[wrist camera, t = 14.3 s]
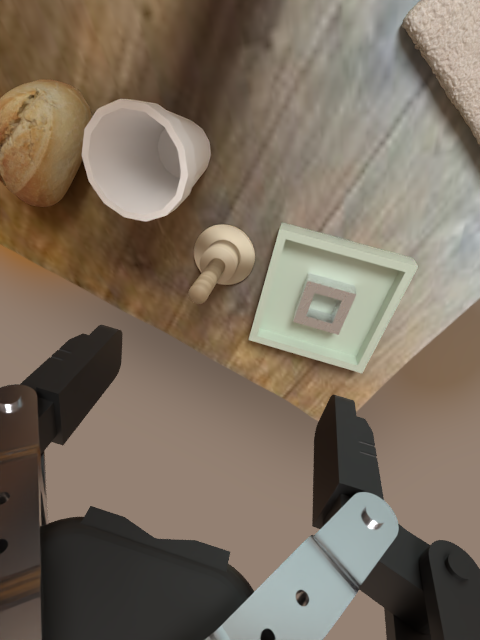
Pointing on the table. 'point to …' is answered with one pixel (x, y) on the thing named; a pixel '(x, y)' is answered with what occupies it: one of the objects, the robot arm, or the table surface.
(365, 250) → the tray
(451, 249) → the table surface
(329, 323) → the ring
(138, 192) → the foam cup
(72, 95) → the bread roll
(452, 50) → the washcloth
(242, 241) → the beige peg stand
